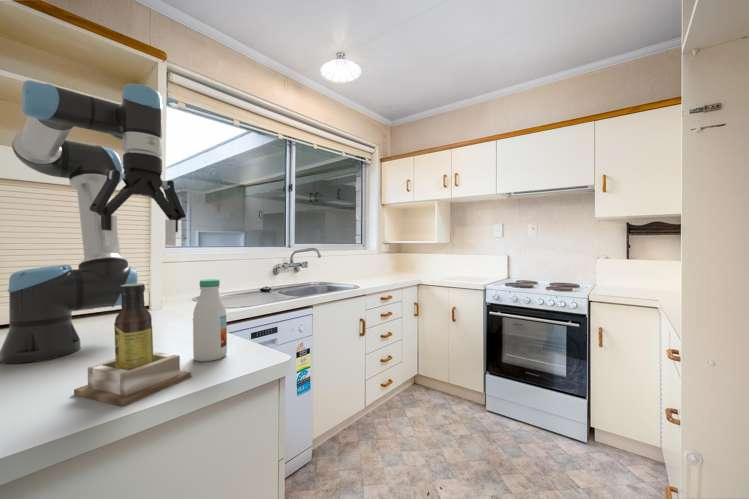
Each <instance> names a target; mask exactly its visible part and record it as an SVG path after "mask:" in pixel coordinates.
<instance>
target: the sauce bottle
mask: <svg viewBox="0 0 749 499" xmlns="http://www.w3.org/2000/svg"><path fill="white" fill-rule="evenodd" d="M145 290H146V286H145V284H144V283H141V282H140V283H138V282H137V283H136V284H125V285H121V286H120V292H121V295H122V304H121V305H120V306H121V309H120V311H119V312H118V314H117V315H116V317H115V320H114V324H113V325H114V327H113V328H114V354H115V358H114V359H115V362H116V368H118V369H123V370H132V369H134V368H137V367H140V366H143V365H146V364H149V363H152V362H153V352H154V346H153V345H154V343H153V342H154V341H153V340H154V338H153V323H152V321H153V320H152V314H151V312H150V311H149V310H148V308H146V307H145Z"/></svg>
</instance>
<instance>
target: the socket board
mask: <svg viewBox="0 0 749 499" xmlns="http://www.w3.org/2000/svg"><path fill="white" fill-rule="evenodd" d="M180 356H181V355H178V354H170V353H166V352H158V351H153V362H152V363H149V364H146V365H143V366H140V367H137V368H134V369H132V370H123V369H118V368H116V362H115V358H114V359H111V360H107V361H103V362H99V363H97V364H93V365H90V366H88V367H87V384H86V385H83V386H80V387H77V388H74V390H73V395H74V396H78V397H82V398H87V399H90V400H95V401H99V402H102V403H107V404H111V405H115V406H119V407H125V406H127V405H130V404H132V403H134V402H137V401H139V400H141V399H143V398H146V397H148V396H151V395H153V394H155V393H157V392H159V391H160V392H161V390H164V389H166V388H169V387H172V386H174V385H176V384H178V383H181V382H183V381H185V380H187V379H190V378H192V372H191V371H185V370H181V368H180V367H181V365H180V361H181V360H180V359H181V357H180Z"/></svg>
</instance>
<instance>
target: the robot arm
mask: <svg viewBox="0 0 749 499" xmlns="http://www.w3.org/2000/svg"><path fill="white" fill-rule="evenodd" d="M121 98H122V102H121V103H117V102H114V101H113V102H112V101H109V100H107V99H106V100H105V99H102V98H98V97H95V96H91V95H87V94H83V93H79V92H77V91H73V90H70V89H66V88H62V87H59V86H56V85H53V84H50V83H43V82H40V81H39V82H38V81H35V80H30V79H28V80H25V81H24V82H23V83H22V89H21V99H20V100H21V102H20V103H21V110H22V113H23V114H24V115H26V116H27V119H26V122H25V123H24V124H25V125H24V126H23V129H22V130H21V131H18V132H16V134H15V135H14V137H13V139H12V143H11V145H12V146H11V148H12V151H13V154H14V155H15V156H16V158H17V159H18V160H19V161H20V162H21V163H22V164H24V165H25V166H27V167H28V168H30V169H32V170H34V171H36V172H38V173H39V174H43V175H47V176H50V177H56V178H61V179H62V178H64V179H68V181H69V185H70V186H71V187H72V188H74V189H75V190H76V192H77V194H76V195H77V200H78V210H79V211H78V212H79V219H80V220H79V221H80V229H81V239H82V247H83V249H82V250H83V256H84V259H83V260H82V261H81V262H79V264H78V269H73V268H72V267H71V265H70V264H62V265H61V264H60V265H52V266H51V265H49V266H42V267H36V268H35V267H34V268H30V269H29V268H28V269H21V270H18V271H16V272H14V273H12V274H11V275H9V278H8V279H9V280H8V281H9V282H8V289H7V293H8V299H9V300H8V301H9V303H8V304H9V310H8V312H9V314H8V316H9V320H8V321H9V324H8V325H9V326H8V327H9V328H8V332H7V335H6V337H5V339H4V342H3V343H2V346H1V348H0V363H2V364H6V365H7V364H10V365H11V364H13V365H15V364H25V363H27V364H28V363H35V362H41V361H46V360H50V359H55V358H59V357H65V356H67V355H70V354H74V353H75V352H77V351H80V350H81V338H80V337H79V334H78V332H77V330H76V328H75V326H74V324H73V320H72V313H73V312H75V311H84V310H85V311H86V310H94V309H101V308H110V307H111V308H114V307H118V306H121V304H122V295H121V292H120V286H121V285H125V284H136V283H138V271H137V269H136V267H134V266H129V263H128V260H127V259H126V258H125V257H123V256H122V254H121V249H120V248H121V247H120V241H119V233H118V216H117V215H116V211H117V210H118V209H119V208H120V207H121V206H122V205H123V204H124V203H125V202H126V201H127V200H128V199H129V198H130V197H131V196H133V195H135V196H136V195H137V196H138V195H139V196H140V195H141V196H144V197H150V198H151V199H153V200H154V201H155V203H156V204H157V205H158V206H159V208H160V209H161V211H162V212H163V213H164V215H166V217H167V219H165V220H164V221H165V222H164V225H165V228H164V229H165V230H164V231H165V236H164V237H165V246H176V233H178V231H179V221H181V220H182V219H184V218H186V214H185V213H186V212H185V210H184V209H183V206H182V204H181V201H180V199H179V197H178V195H177V192H176V190H175V182H174V180H171V179H170V180H162V178H161V176H162V173H163V160H162V158H160V157H162V156H163V148H162V146H163V138H162V137H163V109H164V108H163V102H162V101H163V100H162V96H161V94H160V93H159V92H158V91H157V90H156V89H154V88H153V87H150V86H147V85H143V84H138V83H128V84H125V85H123V87H122V95H121ZM74 127H75V128H81V129H85V130H90V131H94V132H100V133H104V134H109V135H111V136H112V137H114V138H116V139H117V140H119V141H122V151H123V152H124V153H123V154H122V162H121V158H120V156H119V154H118V153H117V152H116V151H114V150H113V149H111V148H109V147H103V146H101V145H92V144H87V143H83V142H78V141H77V142H76V141H72V140H67V138H68V137H69V134H70V133H71V132H72V130H73V129H74ZM121 181H123V183H124V184H125V185H124V186H123V187H122V188H121V189H119V192H118V193H117V194H115V196H113V194H114V192H115V191H116V188H117V187H118V186H119V184H120V183H121ZM162 190H163V191H162Z"/></svg>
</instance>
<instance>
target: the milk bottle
mask: <svg viewBox="0 0 749 499" xmlns="http://www.w3.org/2000/svg"><path fill="white" fill-rule="evenodd" d="M220 284H221V283H220V279H215V278H214V279H212V278H211V279H201V280H199V290H200V294H199V297H198V299H197V302H196V303H195V306H194V309H193V317H192V340H193V341H192V345H193V346H192V347H193V348H192V349H193V350H192V352H193V353H192V354H193V359H194V361H197V362H212V361H216V360H219V359H222V358H224V357H226V355H227V353H228V352H227V351H228V340H227V339H228V337H227V336H228V335H227V334H228V333H227V330H228V329H227V328H228V327H227V325H228V324H227V310H226V305H225V303H224V301H223V299H222V298H221V295H220V290H219V289H220V287H221V286H220Z"/></svg>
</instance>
